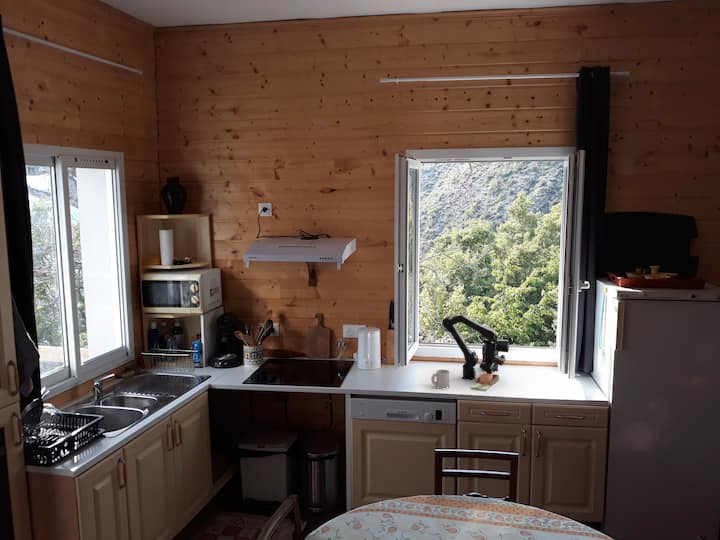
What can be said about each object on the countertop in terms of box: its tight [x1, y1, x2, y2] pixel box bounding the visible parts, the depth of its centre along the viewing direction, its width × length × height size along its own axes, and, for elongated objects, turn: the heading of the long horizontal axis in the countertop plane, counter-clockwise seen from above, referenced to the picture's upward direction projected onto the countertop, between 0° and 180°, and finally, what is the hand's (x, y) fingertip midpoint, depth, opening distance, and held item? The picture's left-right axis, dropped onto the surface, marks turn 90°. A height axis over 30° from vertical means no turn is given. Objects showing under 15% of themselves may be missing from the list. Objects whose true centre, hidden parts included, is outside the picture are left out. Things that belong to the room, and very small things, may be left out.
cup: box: [431, 369, 450, 389], centre depth 336 cm, size 7×10×9 cm
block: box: [479, 372, 494, 384], centre depth 342 cm, size 6×6×4 cm
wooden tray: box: [470, 373, 500, 392], centre depth 341 cm, size 9×23×3 cm, turn 149°
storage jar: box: [481, 343, 499, 373], centre depth 369 cm, size 10×10×15 cm
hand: (489, 377), depth 348 cm, fingers closed
